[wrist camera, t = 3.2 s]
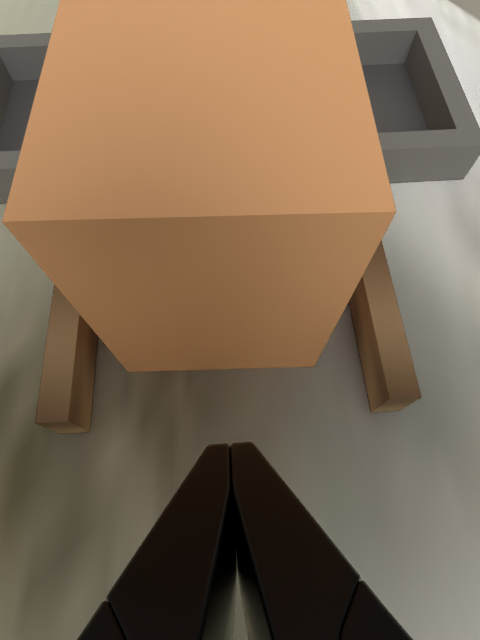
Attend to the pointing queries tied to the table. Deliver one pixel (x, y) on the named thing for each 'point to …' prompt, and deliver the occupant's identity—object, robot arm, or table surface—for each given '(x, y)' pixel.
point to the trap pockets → (382, 85)
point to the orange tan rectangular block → (203, 177)
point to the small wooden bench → (369, 323)
